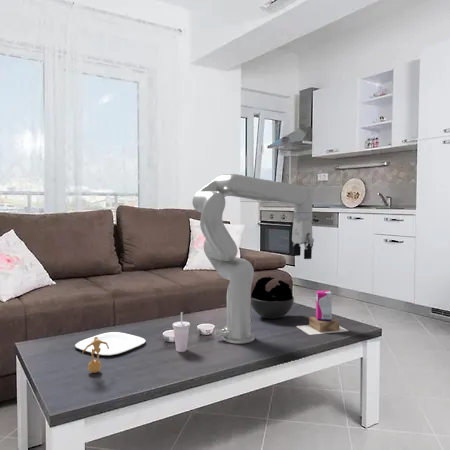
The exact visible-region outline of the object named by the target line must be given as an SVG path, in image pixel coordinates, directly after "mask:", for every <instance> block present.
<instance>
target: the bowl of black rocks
mask: <svg viewBox="0 0 450 450" xmlns="http://www.w3.org/2000/svg"><path fill="white" fill-rule="evenodd" d="M274 279H275V277H271V276H264V277H261V278H258V279H257V281H256V282H255V286H254V287H253V289H252V291H251V308H252V309H253V310H254V311H255V313H257V315H259V316H260V317H262V318H264V319H268V320H277V319H280V318H282V317H284V316H286V315H287V313H289V312H290V310H291V309H292V307H293V305H294V301H295V298H294V296H293V292H292V289H291V287H290V284H289V283H287V282H284V281H283V280H278V281H277V282H278V283H279V285H278V284H276V285H275V286H274V287H272V288H271V289H270V290H269V291H268V290H266V285H267V284H268V283H270V282H271V281H272V280H274Z"/></svg>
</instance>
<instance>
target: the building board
mask: <svg viewBox="0 0 450 450" xmlns="http://www.w3.org/2000/svg"><path fill="white" fill-rule="evenodd" d="M295 328H298V329H300V330H301V331H303V333H305V334H307V335H309V336H310V335H311V336H312V335H321V334H331V333H333V334H334V333H342V332H349V330H348V329H346V328H344V327H342V326H341V325H339V331H330V332H318V331H317V330H315V329H313V328H311V327H310V326H309V324H306V325H304V324H303V325H297V326H295Z"/></svg>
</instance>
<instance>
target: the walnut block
mask: <svg viewBox="0 0 450 450" xmlns="http://www.w3.org/2000/svg"><path fill="white" fill-rule="evenodd" d="M340 322H341V321H340V320H338V319H336V318H334V317H332V316H331V321H323V320H317V318H316V315H315V316H309V317H308V325H309V326H310V327H311V328H313V329H315V330H317V331H318V332H330V331H339V326H340Z"/></svg>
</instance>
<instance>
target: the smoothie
mask: <svg viewBox="0 0 450 450" xmlns="http://www.w3.org/2000/svg"><path fill="white" fill-rule="evenodd" d="M190 327H191V323H190V322H189V321H184V320H183V311H182V312H181V311H180V321H176V322H173V323H172V328H173V337H174V343H175V344H174V345H175V351H176V352H179V353H184V352H186V351H187V349H188V341H189V332H190Z"/></svg>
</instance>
